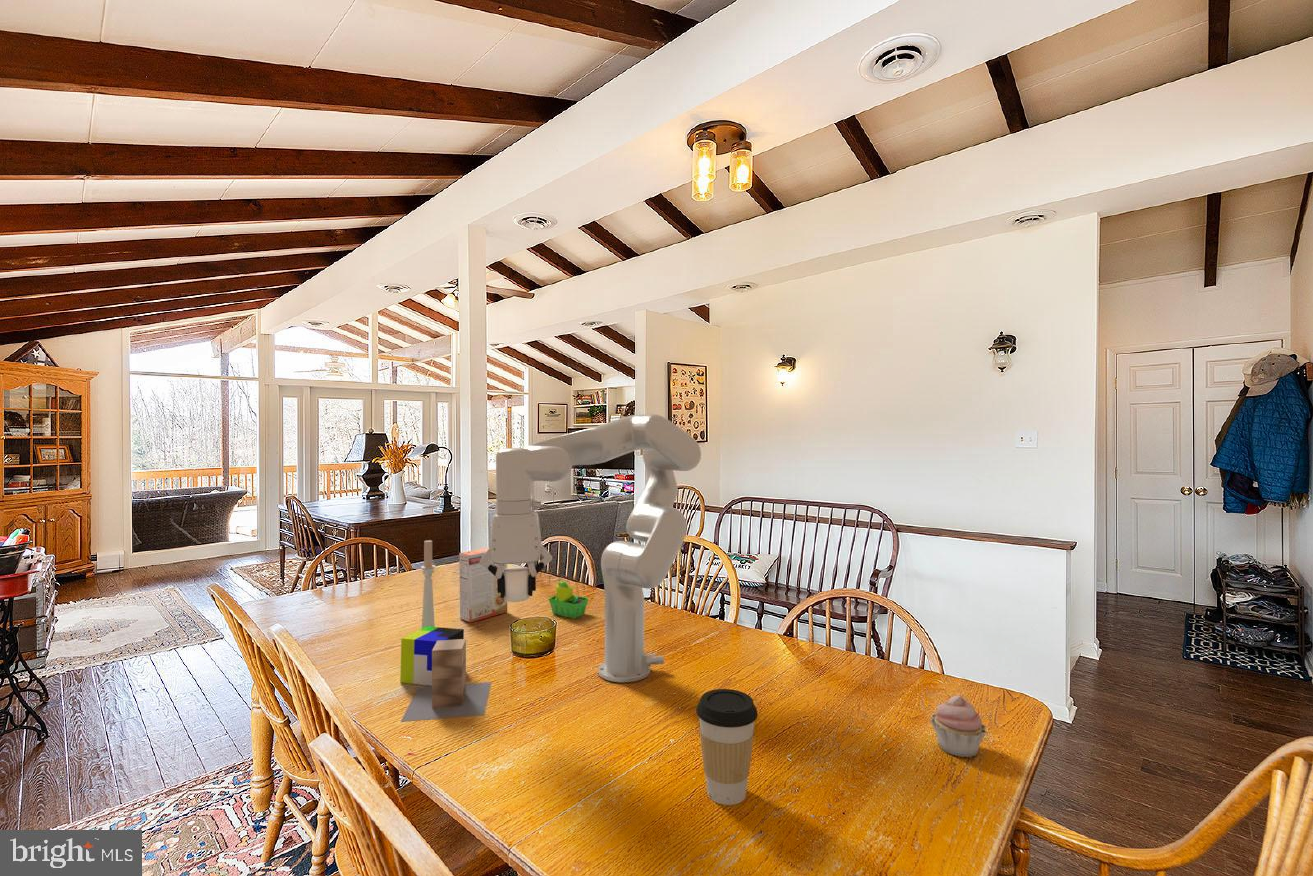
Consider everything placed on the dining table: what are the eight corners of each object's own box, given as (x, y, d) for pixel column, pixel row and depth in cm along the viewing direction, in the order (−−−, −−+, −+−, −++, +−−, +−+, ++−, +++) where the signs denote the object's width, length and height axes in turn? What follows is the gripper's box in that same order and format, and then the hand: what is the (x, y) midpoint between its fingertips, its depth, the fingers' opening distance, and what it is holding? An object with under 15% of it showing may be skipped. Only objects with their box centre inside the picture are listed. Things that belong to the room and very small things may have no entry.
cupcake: (957, 767, 102) (957, 710, 102) (919, 740, 111) (919, 687, 111) (999, 759, 105) (1000, 703, 104) (959, 733, 114) (959, 682, 113)
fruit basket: (590, 614, 187) (590, 578, 187) (572, 621, 180) (572, 584, 180) (563, 608, 193) (563, 574, 193) (544, 615, 186) (544, 579, 186)
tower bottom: (465, 693, 129) (465, 666, 129) (461, 705, 123) (461, 677, 123) (437, 695, 128) (437, 668, 128) (431, 708, 122) (432, 679, 122)
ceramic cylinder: (529, 594, 124) (529, 566, 124) (529, 601, 119) (528, 571, 119) (505, 595, 123) (504, 567, 123) (503, 602, 118) (503, 573, 118)
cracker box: (497, 609, 192) (497, 545, 192) (508, 612, 188) (508, 547, 188) (458, 619, 181) (458, 552, 181) (469, 623, 177) (469, 554, 177)
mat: (491, 683, 135) (491, 682, 135) (484, 716, 119) (484, 714, 119) (418, 689, 132) (418, 687, 132) (400, 723, 116) (400, 721, 116)
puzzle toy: (439, 686, 132) (440, 641, 133) (400, 682, 134) (401, 638, 135) (462, 670, 142) (463, 629, 142) (425, 667, 144) (426, 626, 144)
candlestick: (455, 659, 150) (455, 541, 149) (400, 666, 145) (400, 545, 145) (452, 642, 162) (452, 533, 161) (402, 648, 157) (402, 536, 157)
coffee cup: (750, 774, 99) (751, 686, 99) (763, 812, 90) (763, 714, 89) (693, 775, 99) (693, 687, 99) (699, 813, 89) (699, 715, 89)
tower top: (465, 666, 129) (465, 639, 129) (461, 677, 123) (462, 648, 123) (437, 668, 128) (437, 640, 128) (432, 679, 122) (431, 650, 122)
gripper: (556, 504, 126) (558, 587, 127) (474, 506, 123) (476, 592, 124) (557, 508, 119) (558, 598, 119) (470, 512, 116) (471, 603, 116)
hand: (516, 594), depth 121 cm, fingers closed on ceramic cylinder, 5 cm apart
